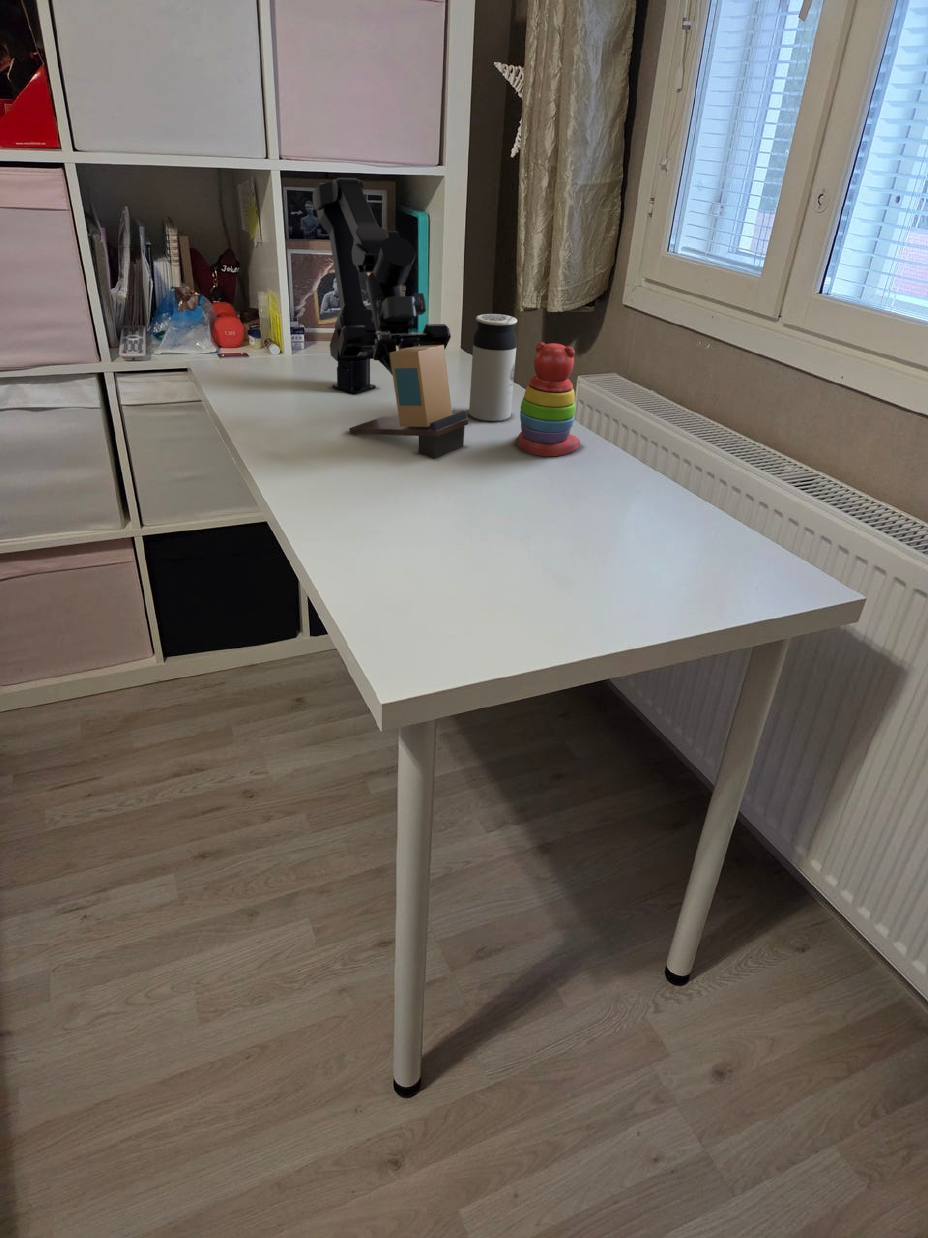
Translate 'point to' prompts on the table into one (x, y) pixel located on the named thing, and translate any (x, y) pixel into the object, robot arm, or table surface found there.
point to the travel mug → (493, 367)
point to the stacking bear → (549, 404)
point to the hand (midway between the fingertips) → (403, 384)
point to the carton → (421, 385)
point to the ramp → (422, 433)
